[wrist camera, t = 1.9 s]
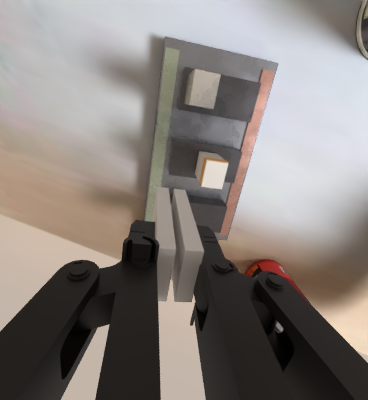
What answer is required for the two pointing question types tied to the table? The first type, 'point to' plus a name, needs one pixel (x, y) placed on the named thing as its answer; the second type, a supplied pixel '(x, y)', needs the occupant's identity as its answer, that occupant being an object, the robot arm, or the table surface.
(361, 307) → the table surface
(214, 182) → the handle
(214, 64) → the panel
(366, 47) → the coffee can
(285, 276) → the canned food
